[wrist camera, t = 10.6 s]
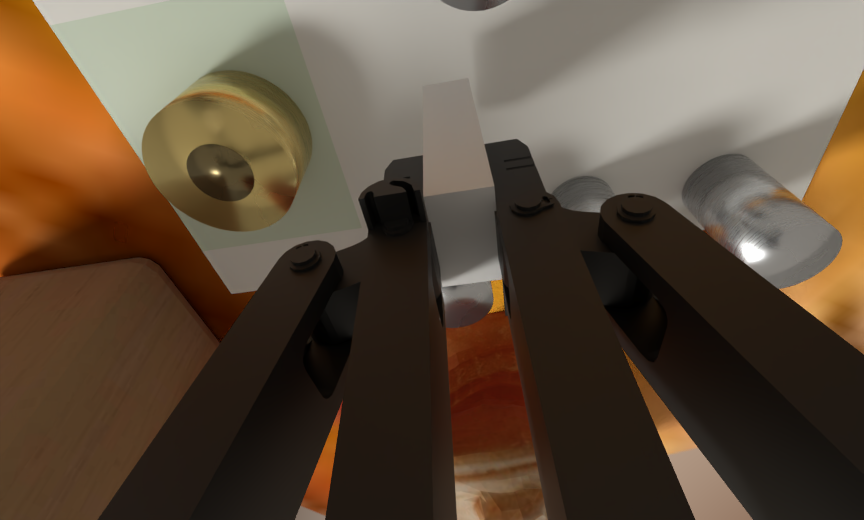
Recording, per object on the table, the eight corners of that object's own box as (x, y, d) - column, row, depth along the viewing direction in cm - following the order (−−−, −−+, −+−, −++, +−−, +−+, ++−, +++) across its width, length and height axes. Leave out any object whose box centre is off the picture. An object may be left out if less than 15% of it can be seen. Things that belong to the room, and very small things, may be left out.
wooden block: (105, 378, 29) (-234, 897, 14) (-17, 272, 23) (-883, 1020, 8) (243, 362, 28) (37, 901, 13) (156, 246, 22) (-443, 1042, 7)
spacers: (332, -124, 12) (289, -130, 8) (1006, -279, 10) (1342, -378, 7) (422, 252, 21) (421, 331, 17) (790, 201, 19) (878, 276, 16)
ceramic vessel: (615, 233, 22) (821, 601, 11) (596, 458, 39) (667, 694, 27) (356, 277, 24) (294, 634, 12) (445, 474, 40) (454, 702, 29)
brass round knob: (151, 94, 16) (105, 129, 14) (270, 51, 15) (242, 80, 13) (230, 202, 19) (204, 245, 17) (333, 172, 18) (320, 213, 16)
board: (-2, -90, 13) (-28, -88, 12) (1016, -336, 10) (1062, -354, 10) (237, 281, 24) (231, 294, 23) (780, 205, 21) (793, 217, 20)
